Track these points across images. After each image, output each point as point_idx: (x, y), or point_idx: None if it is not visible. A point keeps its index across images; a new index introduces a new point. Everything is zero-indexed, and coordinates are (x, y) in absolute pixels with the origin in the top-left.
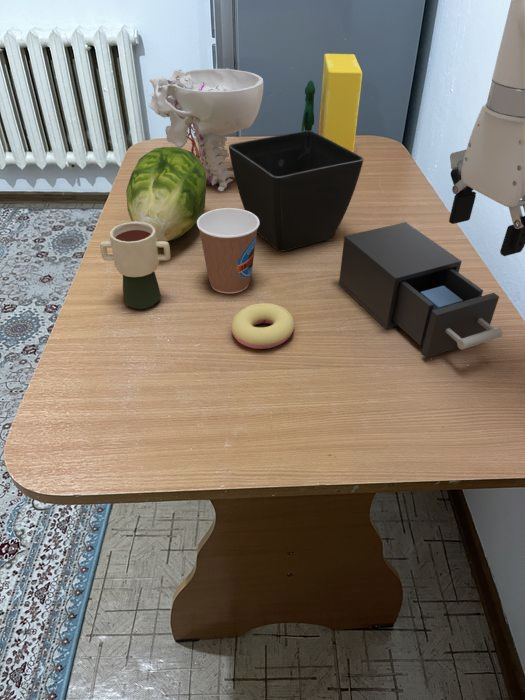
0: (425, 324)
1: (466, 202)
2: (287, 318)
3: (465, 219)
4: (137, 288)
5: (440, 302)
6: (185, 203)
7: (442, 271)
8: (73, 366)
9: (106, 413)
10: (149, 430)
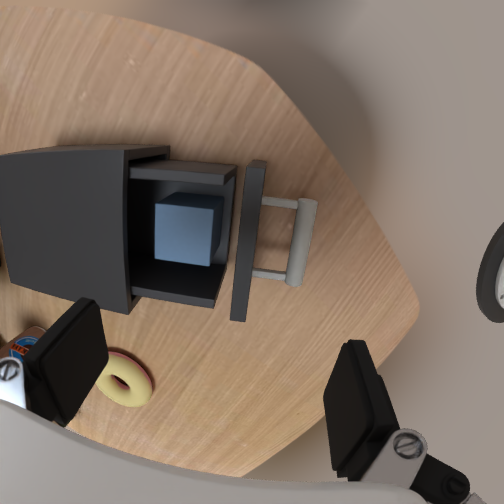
0: (220, 287)
1: (68, 378)
2: (124, 375)
3: (98, 323)
4: (67, 423)
5: (198, 253)
6: None
7: None
8: (131, 453)
9: (181, 463)
10: (206, 459)
